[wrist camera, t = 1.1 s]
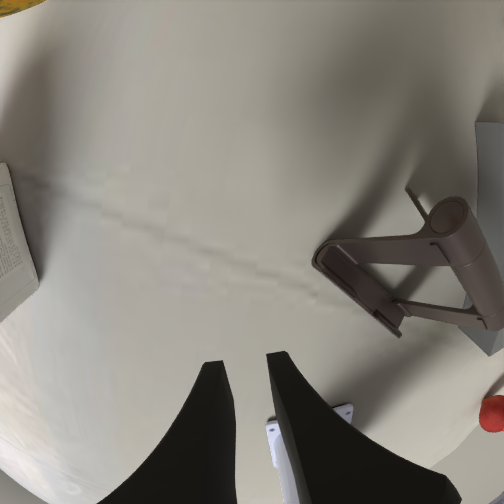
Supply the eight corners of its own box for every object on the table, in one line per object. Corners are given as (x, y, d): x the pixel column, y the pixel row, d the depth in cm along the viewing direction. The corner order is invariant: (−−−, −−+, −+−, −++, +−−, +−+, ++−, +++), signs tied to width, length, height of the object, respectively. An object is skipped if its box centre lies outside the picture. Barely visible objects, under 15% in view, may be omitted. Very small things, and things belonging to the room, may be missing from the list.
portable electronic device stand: (305, 257, 17) (361, 339, 9) (386, 161, 15) (487, 177, 8) (384, 324, 19) (442, 398, 12) (449, 246, 18) (527, 293, 10)
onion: (500, 386, 27) (525, 415, 20) (477, 413, 29) (499, 443, 21) (491, 383, 26) (518, 415, 19) (465, 412, 28) (490, 446, 20)
